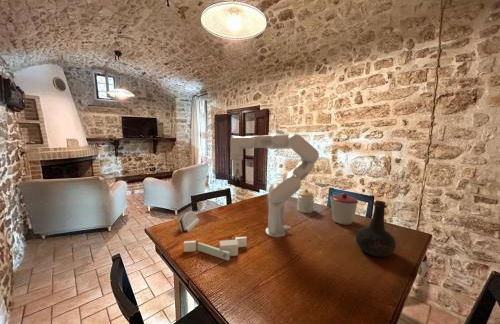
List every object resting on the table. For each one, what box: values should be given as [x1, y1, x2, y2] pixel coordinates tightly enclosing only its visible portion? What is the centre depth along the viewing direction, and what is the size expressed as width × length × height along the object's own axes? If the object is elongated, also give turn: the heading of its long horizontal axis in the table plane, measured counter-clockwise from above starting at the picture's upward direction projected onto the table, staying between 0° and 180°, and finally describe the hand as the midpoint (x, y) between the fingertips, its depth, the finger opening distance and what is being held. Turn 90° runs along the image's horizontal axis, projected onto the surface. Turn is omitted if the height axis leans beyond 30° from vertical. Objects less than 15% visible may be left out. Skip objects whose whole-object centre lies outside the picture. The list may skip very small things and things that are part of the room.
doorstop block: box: [219, 239, 239, 257], centre depth 104 cm, size 9×5×6 cm, turn 101°
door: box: [196, 240, 231, 261], centre depth 102 cm, size 20×2×5 cm, turn 64°
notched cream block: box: [183, 236, 248, 253], centre depth 109 cm, size 33×2×5 cm, turn 100°
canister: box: [330, 192, 360, 226], centre depth 142 cm, size 18×18×21 cm
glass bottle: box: [355, 200, 397, 258], centre depth 106 cm, size 18×18×28 cm
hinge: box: [178, 210, 200, 233], centre depth 134 cm, size 17×5×10 cm, turn 168°
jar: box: [296, 188, 315, 214], centre depth 163 cm, size 13×13×18 cm
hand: (236, 184), depth 124 cm, fingers open, 9 cm apart
